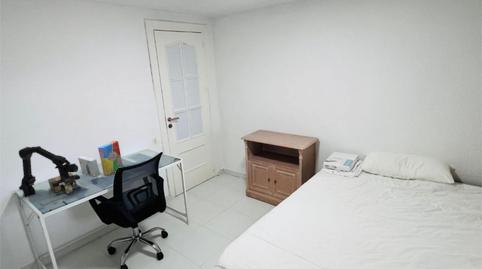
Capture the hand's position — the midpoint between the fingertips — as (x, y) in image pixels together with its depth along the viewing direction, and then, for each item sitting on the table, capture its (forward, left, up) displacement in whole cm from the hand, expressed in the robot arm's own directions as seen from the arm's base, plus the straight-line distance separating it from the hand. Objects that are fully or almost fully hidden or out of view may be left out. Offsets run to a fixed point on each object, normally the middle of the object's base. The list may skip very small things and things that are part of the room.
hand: (68, 190), depth 200 cm
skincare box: (+25, +22, -2) cm, 33 cm away
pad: (-12, -5, -1) cm, 13 cm away
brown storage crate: (0, +12, -1) cm, 12 cm away
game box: (+41, +10, -2) cm, 42 cm away
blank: (0, +4, -1) cm, 4 cm away
